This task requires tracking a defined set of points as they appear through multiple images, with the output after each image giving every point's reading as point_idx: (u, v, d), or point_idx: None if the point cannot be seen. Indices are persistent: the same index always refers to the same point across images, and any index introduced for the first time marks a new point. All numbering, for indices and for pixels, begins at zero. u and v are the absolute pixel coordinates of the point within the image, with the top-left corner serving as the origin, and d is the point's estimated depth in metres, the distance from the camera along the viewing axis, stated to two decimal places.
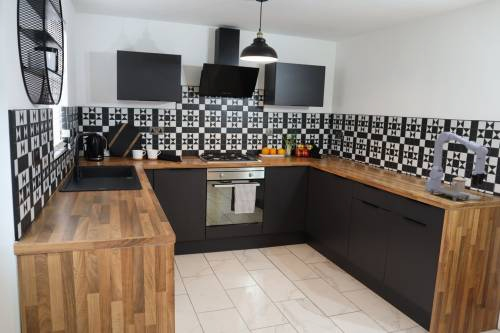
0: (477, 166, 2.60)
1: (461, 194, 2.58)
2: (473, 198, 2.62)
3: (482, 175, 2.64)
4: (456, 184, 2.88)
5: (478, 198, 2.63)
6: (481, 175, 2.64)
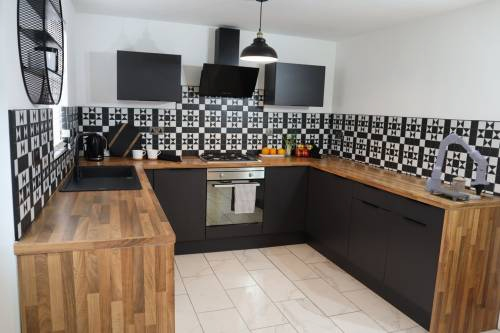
0: (477, 177, 2.70)
1: (461, 194, 2.58)
2: (473, 198, 2.62)
3: None
4: (456, 184, 2.88)
5: (478, 198, 2.63)
6: None
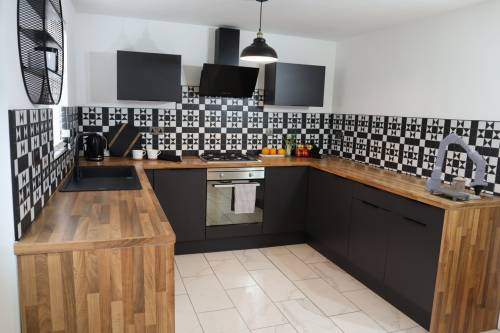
0: (475, 178, 2.70)
1: (461, 194, 2.58)
2: (473, 198, 2.62)
3: None
4: (456, 184, 2.88)
5: (478, 198, 2.63)
6: None
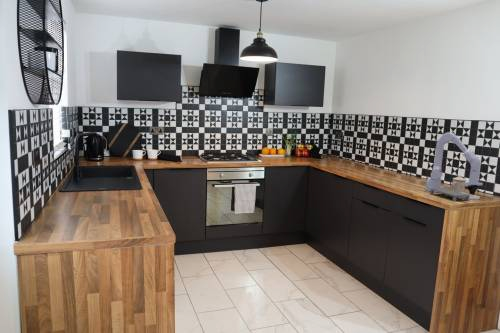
0: (470, 178, 2.69)
1: (461, 194, 2.58)
2: (472, 198, 2.62)
3: None
4: (456, 184, 2.88)
5: (477, 198, 2.63)
6: None
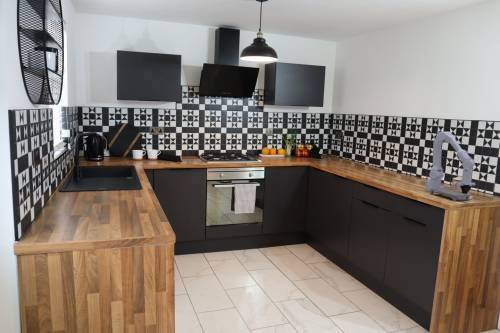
0: (463, 178, 2.67)
1: (461, 194, 2.58)
2: (465, 198, 2.60)
3: None
4: None
5: (470, 198, 2.61)
6: None
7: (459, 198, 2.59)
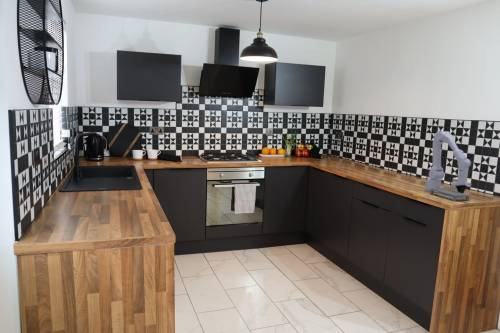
0: (458, 178, 2.66)
1: (461, 194, 2.58)
2: (460, 198, 2.59)
3: None
4: None
5: (465, 198, 2.60)
6: None
7: None
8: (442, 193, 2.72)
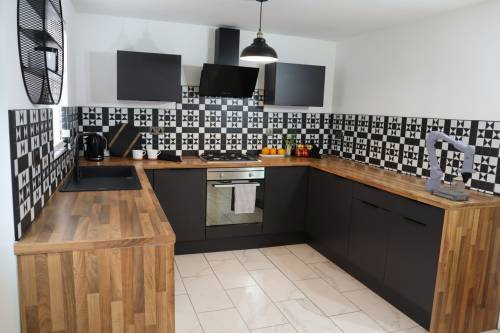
0: (463, 165, 2.69)
1: (461, 194, 2.58)
2: (460, 198, 2.59)
3: None
4: (456, 184, 2.88)
5: (465, 198, 2.60)
6: None
7: None
8: (442, 193, 2.72)
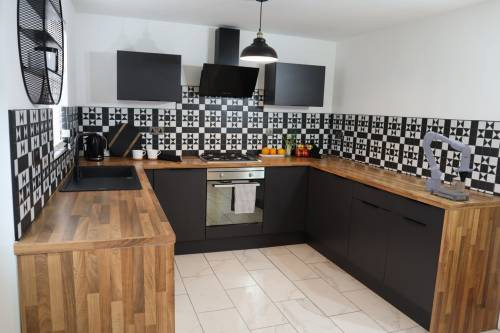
0: (461, 164, 2.73)
1: (461, 194, 2.58)
2: (460, 198, 2.59)
3: None
4: (456, 184, 2.88)
5: (465, 198, 2.60)
6: None
7: None
8: (442, 193, 2.72)
